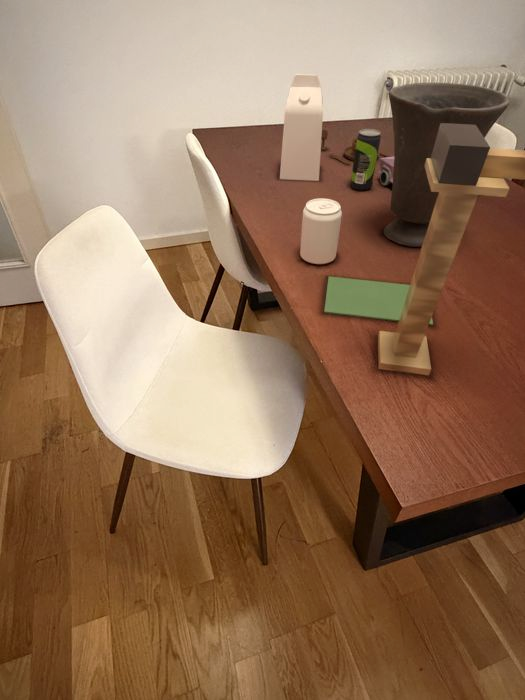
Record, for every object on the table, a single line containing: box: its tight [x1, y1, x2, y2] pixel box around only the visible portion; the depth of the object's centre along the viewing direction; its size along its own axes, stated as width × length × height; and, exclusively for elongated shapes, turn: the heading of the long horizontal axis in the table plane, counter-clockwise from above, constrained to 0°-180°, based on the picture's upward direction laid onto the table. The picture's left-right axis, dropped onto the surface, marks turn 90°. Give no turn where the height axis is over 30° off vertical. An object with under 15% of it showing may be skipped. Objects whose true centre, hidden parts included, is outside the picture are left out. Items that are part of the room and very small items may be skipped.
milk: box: [279, 73, 324, 182], centre depth 118 cm, size 12×12×26 cm
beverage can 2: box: [349, 128, 382, 192], centre depth 113 cm, size 6×6×15 cm
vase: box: [383, 82, 511, 248], centre depth 87 cm, size 22×22×30 cm
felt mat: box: [323, 276, 434, 326], centre depth 79 cm, size 20×12×1 cm, turn 79°
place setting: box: [321, 129, 389, 165], centre depth 137 cm, size 18×20×6 cm
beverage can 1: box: [299, 197, 343, 265], centre depth 87 cm, size 8×8×12 cm
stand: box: [377, 158, 510, 376], centre depth 58 cm, size 8×8×30 cm
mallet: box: [431, 123, 525, 186], centre depth 45 cm, size 16×8×4 cm, turn 79°
